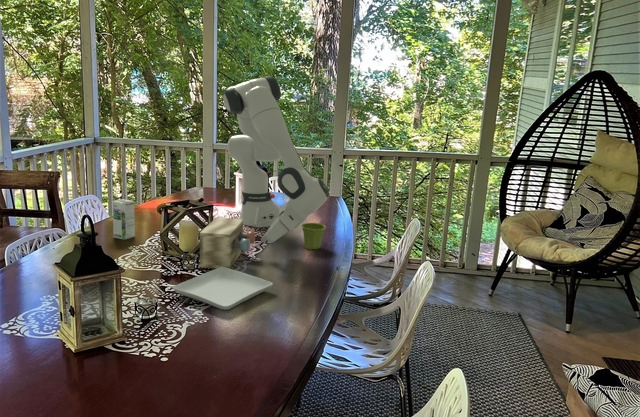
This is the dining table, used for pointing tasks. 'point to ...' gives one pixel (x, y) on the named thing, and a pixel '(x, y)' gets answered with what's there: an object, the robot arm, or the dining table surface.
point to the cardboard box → (220, 243)
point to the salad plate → (223, 287)
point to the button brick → (248, 236)
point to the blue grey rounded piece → (242, 245)
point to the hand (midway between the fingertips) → (262, 240)
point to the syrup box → (123, 219)
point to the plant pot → (313, 235)
